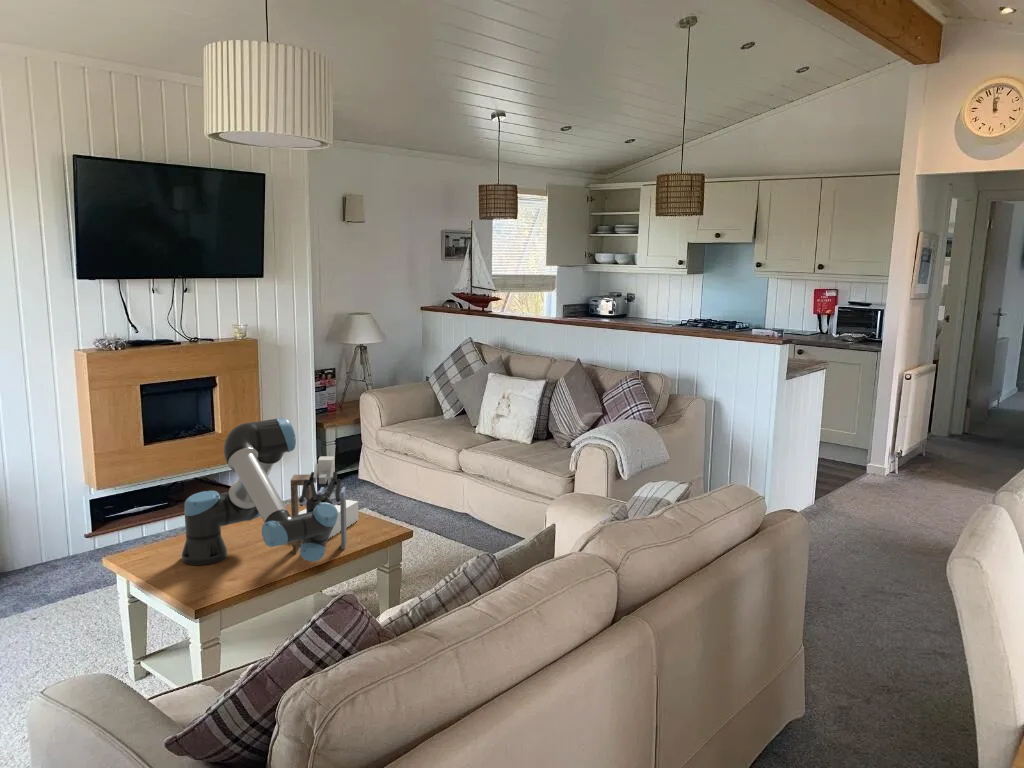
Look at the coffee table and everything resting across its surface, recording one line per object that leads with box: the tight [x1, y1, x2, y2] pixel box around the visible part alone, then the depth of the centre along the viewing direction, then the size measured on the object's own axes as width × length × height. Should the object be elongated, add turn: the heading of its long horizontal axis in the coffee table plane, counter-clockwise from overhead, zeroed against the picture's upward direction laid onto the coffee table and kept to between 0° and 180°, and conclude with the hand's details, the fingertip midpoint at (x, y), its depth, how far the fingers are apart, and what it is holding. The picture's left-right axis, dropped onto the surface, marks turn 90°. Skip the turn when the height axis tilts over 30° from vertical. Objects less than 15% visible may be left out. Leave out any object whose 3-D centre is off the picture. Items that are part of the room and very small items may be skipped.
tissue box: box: [298, 499, 360, 539], centre depth 308 cm, size 14×25×11 cm, turn 160°
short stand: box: [318, 486, 348, 550], centre depth 288 cm, size 9×7×22 cm
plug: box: [317, 455, 336, 485], centre depth 267 cm, size 5×14×6 cm, turn 6°
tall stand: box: [290, 474, 313, 555], centre depth 283 cm, size 6×7×28 cm
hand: (325, 466), depth 268 cm, fingers closed on plug, 5 cm apart
